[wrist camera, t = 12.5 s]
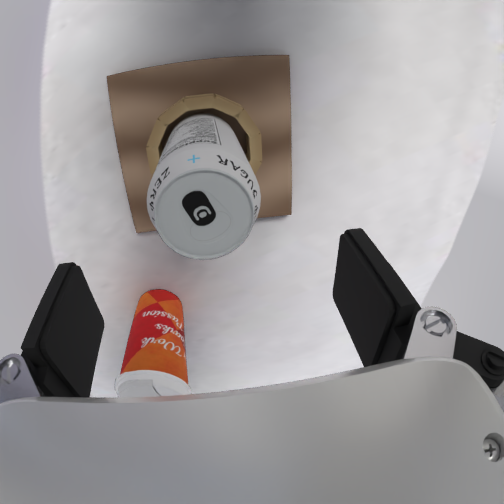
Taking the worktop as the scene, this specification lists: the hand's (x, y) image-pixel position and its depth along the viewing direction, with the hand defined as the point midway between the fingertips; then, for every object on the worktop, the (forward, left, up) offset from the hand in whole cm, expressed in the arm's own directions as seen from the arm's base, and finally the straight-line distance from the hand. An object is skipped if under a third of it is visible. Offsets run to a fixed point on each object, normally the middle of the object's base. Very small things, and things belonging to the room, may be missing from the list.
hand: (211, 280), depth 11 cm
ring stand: (0, 0, -21) cm, 21 cm away
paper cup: (+19, -8, -21) cm, 30 cm away
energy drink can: (0, 0, -20) cm, 20 cm away
